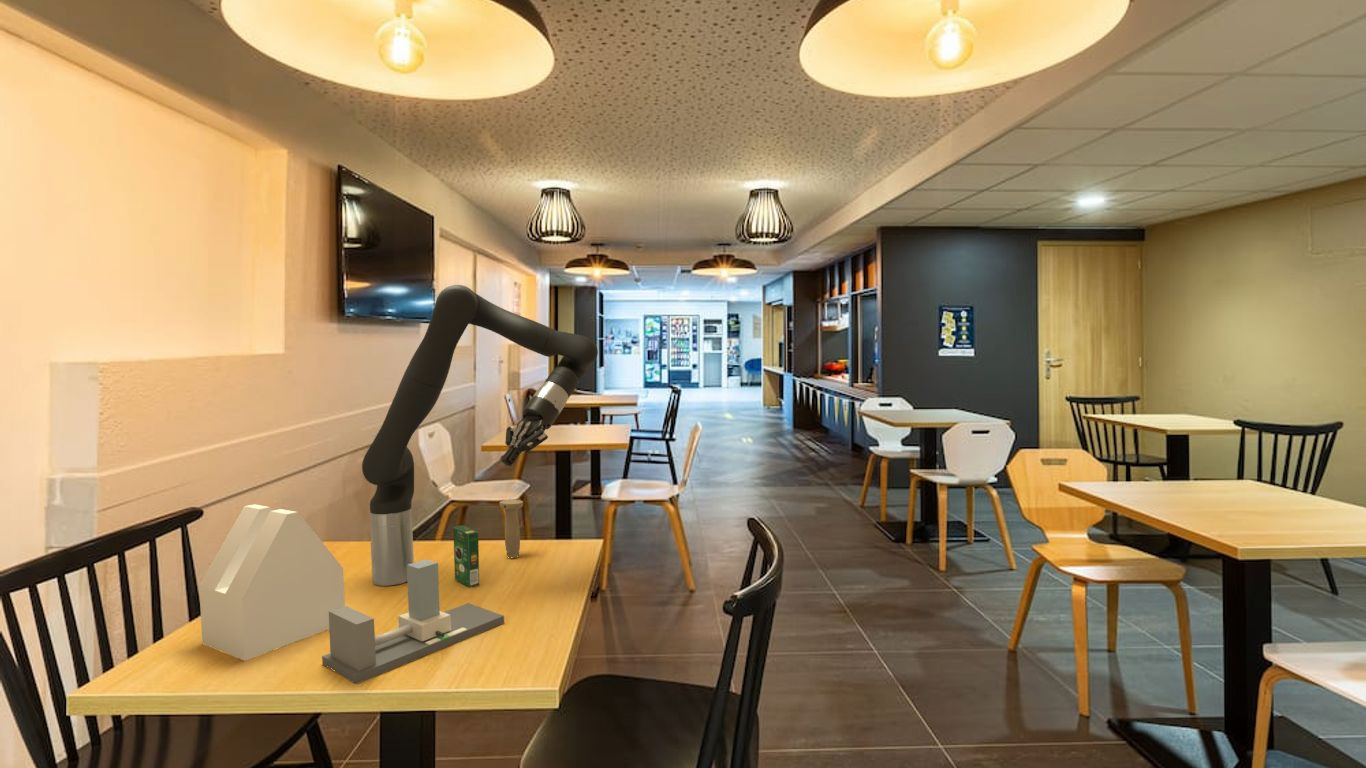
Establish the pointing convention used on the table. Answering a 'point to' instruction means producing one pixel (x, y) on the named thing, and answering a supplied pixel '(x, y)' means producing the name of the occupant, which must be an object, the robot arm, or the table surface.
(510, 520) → the handle
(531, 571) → the table surface
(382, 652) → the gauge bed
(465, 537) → the coffee box
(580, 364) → the robot arm
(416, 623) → the gauge slider
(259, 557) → the white house-shaped block
